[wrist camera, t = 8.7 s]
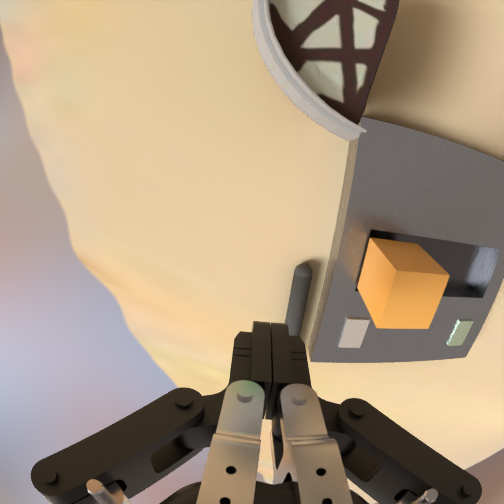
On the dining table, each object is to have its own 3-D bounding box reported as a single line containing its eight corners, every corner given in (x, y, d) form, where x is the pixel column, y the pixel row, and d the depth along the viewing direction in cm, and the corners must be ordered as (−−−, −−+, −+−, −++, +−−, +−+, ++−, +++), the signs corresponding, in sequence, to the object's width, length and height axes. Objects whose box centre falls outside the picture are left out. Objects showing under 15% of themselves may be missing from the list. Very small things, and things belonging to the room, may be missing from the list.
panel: (352, 116, 19) (362, 116, 17) (519, 170, 19) (534, 175, 17) (308, 347, 27) (310, 363, 25) (458, 346, 27) (466, 358, 25)
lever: (363, 229, 22) (396, 270, 16) (408, 235, 22) (449, 275, 16) (351, 277, 23) (376, 328, 17) (395, 280, 23) (428, 328, 17)
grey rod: (294, 259, 24) (296, 268, 22) (312, 261, 24) (315, 269, 22) (275, 365, 28) (275, 375, 27) (289, 366, 28) (290, 376, 27)
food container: (286, -34, 14) (298, -113, 5) (365, -6, 15) (422, -65, 6) (232, 105, 19) (205, 90, 10) (317, 134, 20) (361, 144, 11)
